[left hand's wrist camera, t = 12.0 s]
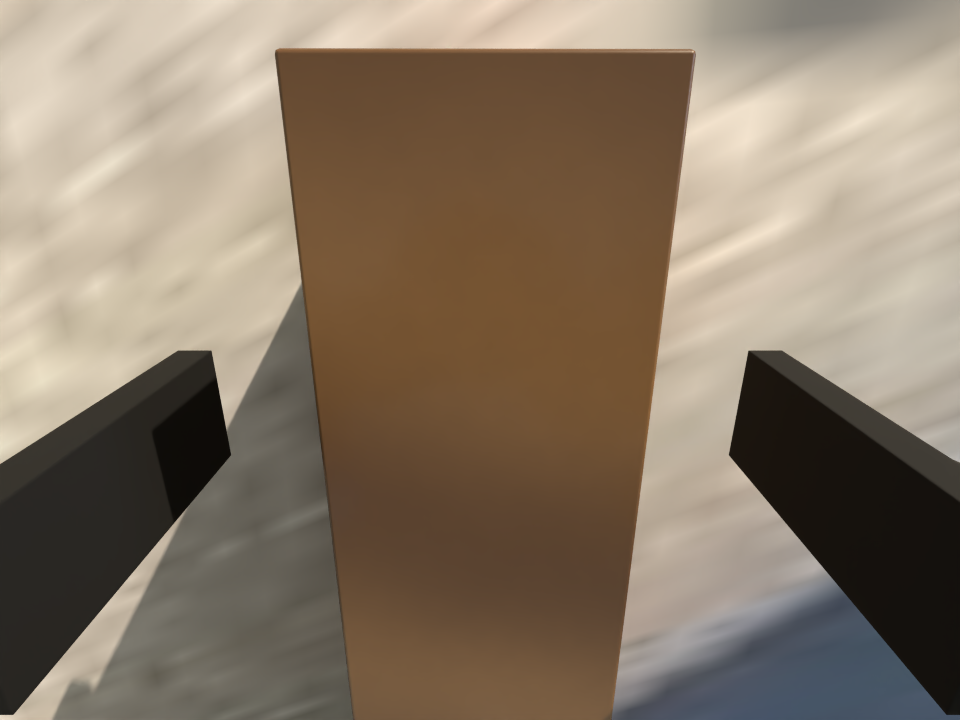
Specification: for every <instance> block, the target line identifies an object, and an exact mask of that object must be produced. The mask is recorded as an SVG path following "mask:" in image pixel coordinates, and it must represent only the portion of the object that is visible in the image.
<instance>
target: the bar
mask: <svg viewBox="0 0 960 720" xmlns="http://www.w3.org/2000/svg"><path fill="white" fill-rule="evenodd" d="M695 57H696V54H695V51H694V50H692V49H331V48H279V49H277V50H276V51H275V59H276V68H277V76H278V85H279V93H280V101H281V110H282V118H283V127H284V135H285V144H286V152H287V161H288V169H289V178H290V186H291V195H292V203H293V212H294V220H295V229H296V237H297V246H298V254H299V263H300V271H301V280H302V288H303V297H304V305H305V314H306V322H307V331H308V339H309V348H310V356H311V365H312V373H313V381H314V390H315V398H316V407H317V415H318V424H319V432H320V441H321V449H322V458H323V466H324V475H325V483H326V492H327V500H328V509H329V517H330V526H331V534H332V543H333V551H334V560H335V568H336V577H337V585H338V594H339V602H340V611H341V619H342V628H343V636H344V645H345V653H346V661H347V670H348V678H349V687H350V695H351V704H352V712H353V720H611V718H612V710H613V702H614V694H615V687H616V679H617V671H618V663H619V655H620V647H621V639H622V631H623V624H624V616H625V608H626V600H627V592H628V584H629V576H630V568H631V561H632V553H633V545H634V537H635V529H636V521H637V513H638V505H639V498H640V490H641V482H642V474H643V466H644V458H645V450H646V442H647V435H648V427H649V419H650V411H651V403H652V395H653V387H654V379H655V372H656V364H657V356H658V348H659V340H660V332H661V324H662V316H663V309H664V301H665V293H666V285H667V277H668V269H669V261H670V253H671V246H672V238H673V230H674V222H675V214H676V206H677V198H678V190H679V183H680V175H681V167H682V159H683V151H684V143H685V135H686V127H687V120H688V112H689V104H690V96H691V88H692V80H693V72H694V64H695Z"/></svg>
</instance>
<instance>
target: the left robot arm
mask: <svg viewBox="0 0 960 720" xmlns="http://www.w3.org/2000/svg"><path fill="white" fill-rule="evenodd" d="M230 456H231V452H230V447H229V442H228V436H227V431H226V426H225V420H224V415H223V410H222V404H221V399H220V394H219V388H218V383H217V378H216V372H215V367H214V362H213V357H212V351H177V352H175V353H174V354H172V355H171V356H169V357H168V358H166V359H164V360H163V361H161V362H160V363H158V364H157V365H155V366H153V367H152V368H150V369H149V370H147V371H146V372H144V373H142V374H141V375H139V376H138V377H136V378H135V379H133V380H131V381H130V382H128V383H127V384H125V385H124V386H122V387H121V388H119V389H117V390H116V391H114V392H113V393H111V394H110V395H108V396H106V397H105V398H103V399H102V400H100V401H99V402H97V403H95V404H94V405H92V406H91V407H89V408H88V409H86V410H84V411H83V412H81V413H80V414H78V415H77V416H75V417H74V418H72V419H70V420H69V421H67V422H66V423H64V424H63V425H61V426H59V427H58V428H56V429H55V430H53V431H52V432H50V433H48V434H47V435H45V436H44V437H42V438H41V439H39V440H37V441H36V442H34V443H33V444H31V445H30V446H28V447H27V448H25V449H23V450H22V451H20V452H19V453H17V454H16V455H14V456H12V457H11V458H9V459H8V460H6V461H5V462H3V463H1V464H0V715H14V713H15V712H16V711H17V710H18V709H19V707H20V706H21V705H22V704H23V703H24V702H25V700H26V699H27V698H28V697H29V696H30V694H31V693H32V692H33V691H34V690H35V688H36V687H37V686H38V685H39V684H40V682H41V681H42V680H43V679H44V678H45V676H46V675H47V674H48V673H49V672H50V670H51V669H52V668H53V667H54V666H55V665H56V663H57V662H58V661H59V660H60V659H61V657H62V656H63V655H64V654H65V653H66V651H67V650H68V649H69V648H70V647H71V645H72V644H73V643H74V642H75V641H76V639H77V638H78V637H79V636H80V635H81V634H82V632H83V631H84V630H85V629H86V628H87V626H88V625H89V624H90V623H91V622H92V620H93V619H94V618H95V617H96V616H97V614H98V613H99V612H100V611H101V610H102V608H103V607H104V606H105V605H106V604H107V602H108V601H109V600H110V599H111V598H112V597H113V595H114V594H115V593H116V592H117V591H118V589H119V588H120V587H121V586H122V585H123V583H124V582H125V581H126V580H127V579H128V577H129V576H130V575H131V574H132V573H133V571H134V570H135V569H136V568H137V567H138V565H139V564H140V563H141V562H142V561H143V560H144V558H145V557H146V556H147V555H148V554H149V552H150V551H151V550H152V549H153V548H154V546H155V545H156V544H157V543H158V542H159V540H160V539H161V538H162V537H163V536H164V534H165V533H166V532H167V531H168V530H169V528H170V527H171V526H172V525H173V524H174V523H175V521H176V520H177V519H178V518H179V517H180V515H181V514H182V513H183V512H184V511H185V509H186V508H187V507H188V506H189V505H190V503H191V502H192V501H193V500H194V499H195V497H196V496H197V495H198V494H199V493H200V492H201V490H202V489H203V488H204V487H205V486H206V484H207V483H208V482H209V481H210V480H211V478H212V477H213V476H214V475H215V474H216V472H217V471H218V470H219V469H220V468H221V466H222V465H223V464H224V463H225V462H226V460H227V459H228V458H229V457H230ZM729 456H730V457H731V458H732V459H733V460H734V462H735V463H736V464H737V465H738V466H739V468H740V469H741V470H742V471H743V472H744V474H745V475H746V476H747V477H748V478H749V480H750V481H751V482H752V483H753V484H754V486H755V487H756V488H757V489H758V490H759V492H760V493H761V494H762V495H763V496H764V497H765V499H766V500H767V501H768V502H769V503H770V505H771V506H772V507H773V508H774V509H775V511H776V512H777V513H778V514H779V515H780V517H781V518H782V519H783V520H784V521H785V523H786V524H787V525H788V526H789V527H790V529H791V530H792V531H793V532H794V533H795V534H796V536H797V537H798V538H799V539H800V540H801V542H802V543H803V544H804V545H805V546H806V548H807V549H808V550H809V551H810V552H811V554H812V555H813V556H814V557H815V558H816V560H817V561H818V562H819V563H820V564H821V566H822V567H823V568H824V569H825V570H826V571H827V573H828V574H829V575H830V576H831V577H832V579H833V580H834V581H835V582H836V583H837V585H838V586H839V587H840V588H841V589H842V591H843V592H844V593H845V594H846V595H847V597H848V598H849V599H850V600H851V601H852V602H853V604H854V605H855V606H856V607H857V608H858V610H859V611H860V612H861V613H862V614H863V616H864V617H865V618H866V619H867V620H868V622H869V623H870V624H871V625H872V626H873V628H874V629H875V630H876V631H877V632H878V634H879V635H880V636H881V637H882V638H883V639H884V641H885V642H886V643H887V644H888V645H889V647H890V648H891V649H892V650H893V651H894V653H895V654H896V655H897V656H898V657H899V659H900V660H901V661H902V662H903V663H904V665H905V666H906V667H907V668H908V669H909V671H910V672H911V673H912V674H913V675H914V676H915V678H916V679H917V680H918V681H919V682H920V684H921V685H922V686H923V687H924V688H925V690H926V691H927V692H928V693H929V694H930V696H931V697H932V698H933V699H934V700H935V702H936V703H937V704H938V705H939V706H940V707H941V709H942V710H943V711H944V712H945V713H946V715H960V463H959V462H957V461H955V460H952V459H951V458H949V457H948V456H946V455H944V454H943V453H941V452H940V451H938V450H937V449H935V448H933V447H932V446H930V445H929V444H927V443H926V442H924V441H922V440H921V439H919V438H918V437H916V436H915V435H913V434H912V433H910V432H908V431H907V430H905V429H904V428H902V427H901V426H899V425H897V424H896V423H894V422H893V421H891V420H890V419H888V418H886V417H885V416H883V415H882V414H880V413H879V412H877V411H876V410H874V409H872V408H871V407H869V406H868V405H866V404H865V403H863V402H861V401H860V400H858V399H857V398H855V397H854V396H852V395H850V394H849V393H847V392H846V391H844V390H843V389H841V388H839V387H838V386H836V385H835V384H833V383H832V382H830V381H829V380H827V379H825V378H824V377H822V376H821V375H819V374H818V373H816V372H814V371H813V370H811V369H810V368H808V367H807V366H805V365H803V364H802V363H800V362H799V361H797V360H796V359H794V358H792V357H791V356H789V355H788V354H786V353H785V352H783V351H748V356H747V362H746V367H745V372H744V378H743V383H742V388H741V394H740V399H739V404H738V410H737V415H736V420H735V426H734V431H733V436H732V441H731V447H730V452H729Z"/></svg>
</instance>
